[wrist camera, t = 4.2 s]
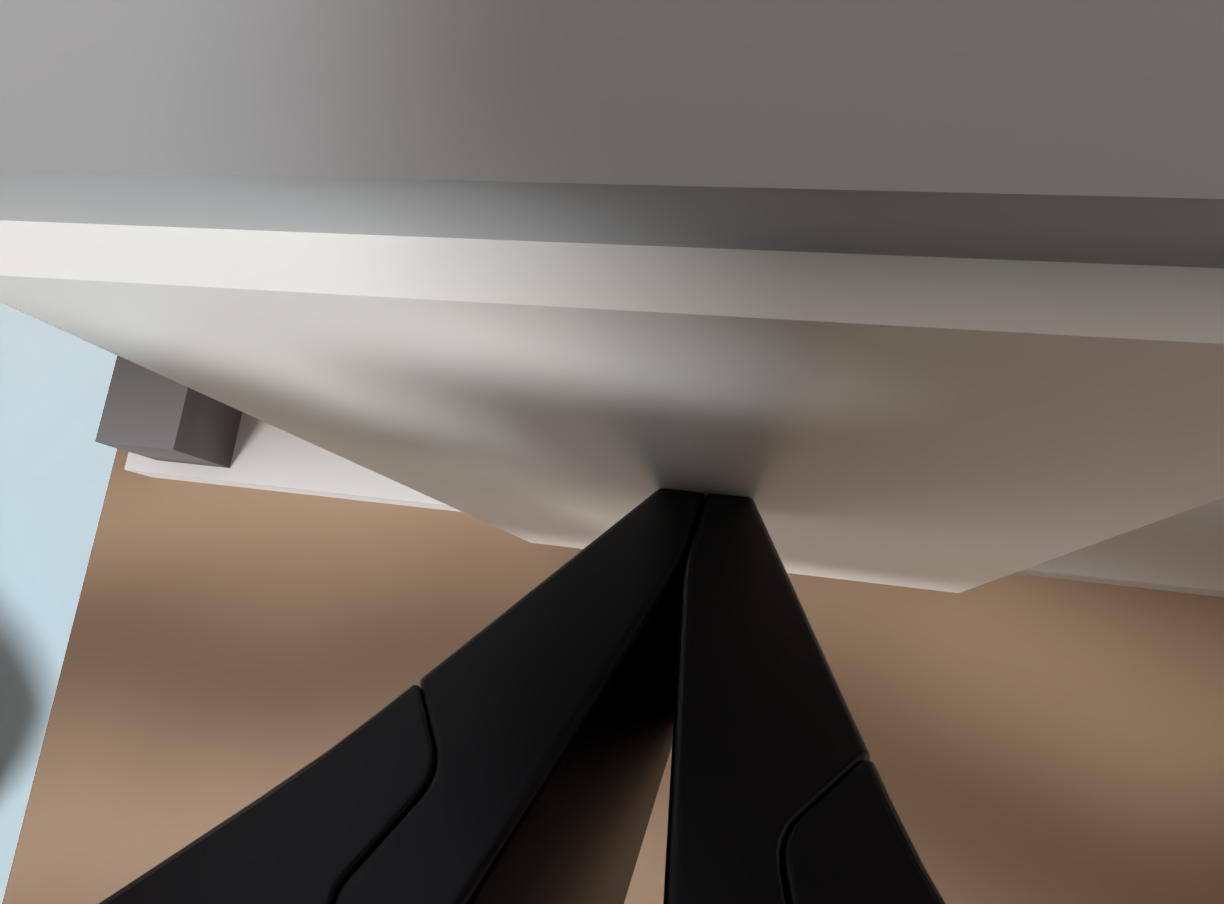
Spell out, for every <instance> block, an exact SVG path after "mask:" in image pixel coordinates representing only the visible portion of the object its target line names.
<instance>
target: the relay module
mask: <svg viewBox="0 0 1224 904" xmlns="http://www.w3.org/2000/svg"><path fill="white" fill-rule="evenodd" d="M0 302H1V303H3V304H5V305H8V306H10V307H12V308H14V309H16V310H19V311H21V312H23V313H25V314H27V315H30V316H32V317H34V318H36V319H38V320H41V321H43V322H45V323H47V324H49V325H52V326H54V327H56V328H58V329H61V330H63V331H65V332H67V333H69V334H72V335H74V336H76V337H78V338H80V339H83V340H85V341H87V342H89V343H91V344H94V345H96V346H98V347H100V348H102V349H105V350H107V351H109V352H111V353H113V354H116V355H118V356H120V357H122V358H124V359H127V360H129V361H131V362H133V363H135V364H138V365H140V366H142V367H144V368H147V369H149V370H151V371H153V372H155V373H158V374H160V375H162V376H164V377H166V378H169V379H171V380H173V381H175V382H177V383H180V384H182V385H184V386H186V387H188V388H191V389H193V390H195V391H197V392H199V393H202V394H204V395H206V396H208V397H210V398H213V399H215V400H217V401H219V402H221V403H224V404H226V405H228V406H230V407H233V408H235V409H237V410H239V411H241V412H244V413H246V414H248V415H250V416H252V417H255V418H257V419H259V420H261V421H263V422H266V423H268V424H270V425H272V426H274V427H277V428H279V429H281V430H283V431H285V432H288V433H290V434H292V435H294V436H296V437H299V438H301V439H303V440H305V441H307V442H310V443H312V444H314V445H316V446H319V447H321V448H323V449H325V450H327V451H330V452H332V453H334V454H336V455H338V456H341V457H343V458H345V459H347V460H349V461H352V462H354V463H356V464H358V465H360V466H363V467H365V468H367V469H369V470H371V471H374V472H376V473H378V474H380V475H382V476H385V477H387V478H389V479H391V480H394V481H396V482H398V483H400V484H402V485H405V486H407V487H409V488H411V489H413V490H416V491H418V492H420V493H422V494H424V495H427V496H429V497H431V498H433V499H435V500H438V501H440V502H442V503H444V504H446V505H449V506H451V507H453V508H455V509H457V510H460V511H462V512H464V513H466V514H468V515H471V516H473V517H475V518H477V519H480V520H482V521H484V522H486V523H488V524H491V525H493V526H495V527H497V528H499V529H502V530H504V531H506V532H508V533H510V534H513V535H515V536H517V537H519V538H521V539H524V540H526V541H528V542H530V543H537V544H545V545H554V546H562V547H571V548H579V549H584V548H585V547H586V546H588V545H589V544H590V543H591V542H593V541H594V540H595V539H596V538H598V537H599V536H600V535H601V534H603V533H604V532H605V531H606V530H608V529H609V528H610V527H611V526H613V525H614V524H615V523H616V522H618V521H619V520H620V519H621V518H623V517H624V516H625V515H626V514H628V513H629V512H630V511H631V510H633V509H634V508H635V507H636V506H638V505H639V504H640V503H641V502H643V501H644V500H645V499H646V498H648V497H649V496H650V495H651V494H653V493H654V492H655V491H656V490H658V489H660V488H665V489H675V490H685V491H695V492H700V493H703V494H704V495H705V497H706V496H707V494H710V493H714V494H724V495H734V496H744V497H750V498H752V499H753V500H754V502H755V504H756V506H757V509H758V511H759V513H760V515H761V517H762V519H763V522H764V524H765V526H766V528H767V530H768V533H769V535H770V537H771V539H772V541H773V544H774V546H775V548H776V550H777V552H778V554H779V557H780V559H781V561H782V563H783V565H784V568H785V570H786V572H787V573H792V574H800V575H809V576H817V577H826V578H834V579H842V580H851V581H859V582H868V583H876V584H885V585H893V586H902V587H910V588H919V589H927V590H936V591H944V592H953V593H960V592H963V591H966V590H969V589H971V588H974V587H977V586H980V585H983V584H985V583H988V582H991V581H994V580H996V579H999V578H1002V577H1005V576H1007V575H1010V574H1013V573H1016V572H1019V571H1021V570H1024V569H1027V568H1030V567H1032V566H1035V565H1038V564H1041V563H1043V562H1046V561H1049V560H1052V559H1055V558H1057V557H1060V556H1063V555H1066V554H1068V553H1071V552H1074V551H1077V550H1079V549H1082V548H1085V547H1088V546H1090V545H1093V544H1096V543H1099V542H1102V541H1104V540H1107V539H1110V538H1113V537H1115V536H1118V535H1121V534H1124V533H1126V532H1129V531H1132V530H1135V529H1138V528H1140V527H1143V526H1146V525H1149V524H1151V523H1154V522H1157V521H1160V520H1162V519H1165V518H1168V517H1171V516H1174V515H1176V514H1179V513H1182V512H1185V511H1187V510H1190V509H1193V508H1196V507H1198V506H1201V505H1204V504H1207V503H1209V502H1212V501H1215V500H1218V499H1221V498H1223V497H1224V0H0Z"/></svg>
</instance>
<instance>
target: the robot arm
mask: <svg viewBox="0 0 1224 904" xmlns="http://www.w3.org/2000/svg"><path fill="white" fill-rule="evenodd" d="M420 687H421V688H420ZM420 687H419V686H418V685H412V686H410V687H409V688H408V689H407V690H405V691H404V692H403V693H402V694H400V695H399V696H398V697H397V698H395V699H394V700H393V701H392V702H390V703H389V704H388V705H387V706H385V707H384V708H383V709H382V710H380V711H379V712H378V713H377V714H375V715H374V716H373V717H371V718H370V719H369V720H367V721H366V722H365V723H363V724H362V725H361V726H359V727H358V728H357V729H355V730H354V731H353V732H351V733H350V734H349V735H347V736H346V737H345V738H344V739H342V740H341V741H340V742H338V743H337V744H336V745H334V746H333V747H332V748H330V749H329V750H328V751H326V752H325V753H324V754H322V755H321V756H319V757H318V758H316V759H315V760H313V761H312V762H310V763H309V764H308V765H306V766H305V767H303V768H302V769H300V770H299V771H297V772H296V773H294V774H293V775H292V776H290V777H289V778H287V779H286V780H284V781H283V782H281V783H280V784H279V785H277V786H276V787H274V788H273V789H271V790H270V791H268V792H267V793H265V794H264V795H263V796H261V797H260V798H258V799H257V800H255V801H254V802H252V803H250V804H249V805H247V806H246V807H244V808H243V809H241V810H240V811H238V812H237V813H235V814H234V815H232V816H231V817H229V818H228V819H226V820H225V821H223V822H222V823H220V824H219V825H217V826H216V827H214V828H212V829H211V830H209V831H208V832H206V833H205V834H203V835H202V836H200V837H199V838H197V839H196V840H194V841H193V842H191V843H190V844H188V845H187V846H185V847H184V848H182V849H181V850H179V851H177V852H176V853H174V854H173V855H171V856H170V857H168V858H167V859H165V860H164V861H162V862H161V863H159V864H158V865H156V866H155V867H153V868H152V869H150V870H149V871H147V872H146V873H144V874H142V875H141V876H139V877H138V878H136V879H135V880H133V881H132V882H130V883H129V884H127V885H126V886H124V887H123V888H121V889H120V890H118V891H117V892H115V893H114V894H112V895H111V896H109V897H107V898H106V899H104V900H103V901H101V902H100V903H98V904H624V902H625V899H626V895H627V892H628V889H629V885H630V882H631V879H632V875H633V872H634V869H635V866H636V862H637V859H638V856H639V852H640V849H641V846H642V843H643V839H644V836H645V833H646V829H647V826H648V823H649V819H650V816H651V813H652V810H653V806H654V803H655V800H656V796H657V793H658V790H659V786H660V783H661V780H662V777H663V773H664V770H665V767H666V763H667V760H668V757H669V754H670V750H671V747H672V756H671V774H670V792H669V809H668V827H667V845H666V863H665V881H664V899H663V904H946V903H945V901H944V900H943V898H942V896H941V895H940V893H939V891H938V889H937V888H936V886H935V884H934V882H933V881H932V879H931V877H930V876H929V874H928V872H927V870H926V869H925V867H924V865H923V863H922V861H921V859H920V857H919V855H918V853H917V851H916V849H915V847H914V845H913V843H912V841H911V839H910V837H909V835H908V833H907V831H906V829H905V827H904V825H903V823H902V821H901V819H900V817H899V815H898V813H897V811H896V809H895V807H894V805H893V803H892V800H891V798H890V796H889V794H888V792H887V789H886V787H885V785H884V783H883V781H882V778H881V776H880V774H879V772H878V770H877V768H876V765H875V764H874V763H873V762H872V761H870V754H869V751H868V749H867V747H866V745H865V743H864V740H863V738H862V736H861V734H860V732H859V729H858V727H857V725H856V723H855V721H854V718H853V716H852V714H851V712H850V710H849V708H848V705H847V703H846V701H845V699H844V697H843V694H842V692H841V690H840V688H839V686H838V683H837V681H836V679H835V677H834V675H833V673H832V670H831V668H830V666H829V664H828V662H827V659H826V657H825V655H824V653H823V651H822V648H821V646H820V644H819V642H818V640H817V638H816V635H815V633H814V631H813V629H812V627H811V624H810V622H809V620H808V618H807V616H806V614H805V611H804V609H803V607H802V605H801V603H800V600H799V598H798V596H797V594H796V592H795V589H794V587H793V585H792V583H791V581H790V579H789V576H788V574H787V572H786V570H785V568H784V565H783V563H782V561H781V559H780V557H779V554H778V552H777V550H776V548H775V546H774V544H773V541H772V539H771V537H770V535H769V533H768V530H767V528H766V526H765V524H764V522H763V519H762V517H761V515H760V513H759V511H758V509H757V506H756V504H755V502H754V500H753V499H752V498H750V497H744V496H734V495H724V494H714V493H710V494H707V496H706V497H705V495H704V494H703V493H700V492H695V491H685V490H675V489H665V488H660V489H658V490H656V491H655V492H654V493H653V494H651V495H650V496H649V497H648V498H646V499H645V500H644V501H643V502H641V503H640V504H639V505H638V506H636V507H635V508H634V509H633V510H631V511H630V512H629V513H628V514H626V515H625V516H624V517H623V518H621V519H620V520H619V521H618V522H616V523H615V524H614V525H613V526H611V527H610V528H609V529H608V530H606V531H605V532H604V533H603V534H601V535H600V536H599V537H598V538H596V539H595V540H594V541H593V542H591V543H590V544H589V545H588V546H586V547H585V548H584V549H583V550H581V551H580V552H579V553H578V554H576V555H575V556H574V557H573V558H571V559H570V560H569V561H568V562H566V563H565V564H564V565H563V566H561V567H560V568H559V569H558V570H556V571H555V572H554V573H553V574H551V575H550V576H549V577H548V578H546V579H545V580H544V581H543V582H541V583H540V584H539V585H538V586H536V587H535V588H534V589H533V590H531V591H530V592H529V593H527V594H526V595H525V596H524V597H522V598H521V599H520V600H519V601H517V602H516V603H515V604H514V605H512V606H511V607H510V608H509V609H507V610H506V611H505V612H504V613H502V614H501V615H500V616H499V617H497V618H496V619H495V620H494V621H492V622H491V623H490V624H489V625H487V626H486V627H485V628H484V629H482V630H481V631H480V632H479V633H477V634H476V635H475V636H474V637H472V638H471V639H470V640H469V641H467V642H466V643H465V644H464V645H462V646H461V647H460V648H459V649H457V650H456V651H455V652H454V653H452V654H451V655H450V656H449V657H447V658H446V659H445V660H444V661H442V662H441V663H440V664H439V665H437V666H436V667H435V668H434V669H432V670H431V671H430V672H429V673H427V674H426V675H425V676H424V677H422V678H421V680H420Z"/></svg>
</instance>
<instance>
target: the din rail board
mask: <svg viewBox="0 0 1224 904" xmlns="http://www.w3.org/2000/svg"><path fill="white" fill-rule="evenodd" d="M95 442H98V443H102V444H105V445H108V446H112V447H115V448H118V449H117V453H116V456H115V460H114V464H113V468H112V472H111V476H110V480H109V484H108V488H107V492H106V496H105V500H104V504H103V508H102V512H101V516H100V520H99V524H98V528H97V532H96V536H95V539H94V543H93V547H92V551H91V555H90V559H89V563H88V567H87V571H86V575H85V579H84V583H83V587H82V591H81V595H80V599H79V603H78V607H77V611H76V615H75V619H74V622H73V626H72V630H71V634H70V638H69V642H68V646H67V650H66V654H65V658H64V662H63V666H62V670H61V674H60V678H59V682H58V686H57V690H56V694H55V698H54V701H53V705H52V709H51V713H50V717H49V721H48V725H47V729H46V733H45V737H44V741H43V745H42V749H41V753H40V757H39V761H38V765H37V769H36V773H35V777H34V781H33V784H32V788H31V792H30V796H29V800H28V804H27V808H26V812H25V816H24V820H23V824H22V828H21V832H20V836H19V840H18V844H17V848H16V852H15V856H14V860H13V864H12V867H11V871H10V875H9V879H8V883H7V887H6V891H5V895H4V899H3V903H2V904H98V903H100V902H101V901H103V900H104V899H106V898H107V897H109V896H111V895H112V894H114V893H115V892H117V891H118V890H120V889H121V888H123V887H124V886H126V885H127V884H129V883H130V882H132V881H133V880H135V879H136V878H138V877H139V876H141V875H142V874H144V873H146V872H147V871H149V870H150V869H152V868H153V867H155V866H156V865H158V864H159V863H161V862H162V861H164V860H165V859H167V858H168V857H170V856H171V855H173V854H174V853H176V852H177V851H179V850H181V849H182V848H184V847H185V846H187V845H188V844H190V843H191V842H193V841H194V840H196V839H197V838H199V837H200V836H202V835H203V834H205V833H206V832H208V831H209V830H211V829H212V828H214V827H216V826H217V825H219V824H220V823H222V822H223V821H225V820H226V819H228V818H229V817H231V816H232V815H234V814H235V813H237V812H238V811H240V810H241V809H243V808H244V807H246V806H247V805H249V804H250V803H252V802H254V801H255V800H257V799H258V798H260V797H261V796H263V795H264V794H265V793H267V792H268V791H270V790H271V789H273V788H274V787H276V786H277V785H279V784H280V783H281V782H283V781H284V780H286V779H287V778H289V777H290V776H292V775H293V774H294V773H296V772H297V771H299V770H300V769H302V768H303V767H305V766H306V765H308V764H309V763H310V762H312V761H313V760H315V759H316V758H318V757H319V756H321V755H322V754H324V753H325V752H326V751H328V750H329V749H330V748H332V747H333V746H334V745H336V744H337V743H338V742H340V741H341V740H342V739H344V738H345V737H346V736H347V735H349V734H350V733H351V732H353V731H354V730H355V729H357V728H358V727H359V726H361V725H362V724H363V723H365V722H366V721H367V720H369V719H370V718H371V717H373V716H374V715H375V714H377V713H378V712H379V711H380V710H382V709H383V708H384V707H385V706H387V705H388V704H389V703H390V702H392V701H393V700H394V699H395V698H397V697H398V696H399V695H400V694H402V693H403V692H404V691H405V690H407V689H408V688H409V687H410V686H412V685H418V686H419V687H420V680H421V678H422V677H424V676H425V675H426V674H427V673H429V672H430V671H431V670H432V669H434V668H435V667H436V666H437V665H439V664H440V663H441V662H442V661H444V660H445V659H446V658H447V657H449V656H450V655H451V654H452V653H454V652H455V651H456V650H457V649H459V648H460V647H461V646H462V645H464V644H465V643H466V642H467V641H469V640H470V639H471V638H472V637H474V636H475V635H476V634H477V633H479V632H480V631H481V630H482V629H484V628H485V627H486V626H487V625H489V624H490V623H491V622H492V621H494V620H495V619H496V618H497V617H499V616H500V615H501V614H502V613H504V612H505V611H506V610H507V609H509V608H510V607H511V606H512V605H514V604H515V603H516V602H517V601H519V600H520V599H521V598H522V597H524V596H525V595H526V594H527V593H529V592H530V591H531V590H533V589H534V588H535V587H536V586H538V585H539V584H540V583H541V582H543V581H544V580H545V579H546V578H548V577H549V576H550V575H551V574H553V573H554V572H555V571H556V570H558V569H559V568H560V567H561V566H563V565H564V564H565V563H566V562H568V561H569V560H570V559H571V558H573V557H574V556H575V555H576V554H578V553H579V552H580V551H581V550H583V549H579V548H571V547H562V546H554V545H545V544H537V543H530V542H528V541H526V540H524V539H521V538H519V537H517V536H515V535H513V534H510V533H508V532H506V531H504V530H502V529H499V528H497V527H495V526H493V525H491V524H488V523H486V522H484V521H482V520H480V519H477V518H475V517H473V516H471V515H468V514H466V513H464V512H462V511H460V510H457V509H455V508H453V507H451V506H449V505H446V504H444V503H442V502H440V501H438V500H435V499H433V498H431V497H429V496H427V495H424V494H422V493H420V492H418V491H416V490H413V489H411V488H409V487H407V486H405V485H402V484H400V483H398V482H396V481H394V480H391V479H389V478H387V477H385V476H382V475H380V474H378V473H376V472H374V471H371V470H369V469H367V468H365V467H363V466H360V465H358V464H356V463H354V462H352V461H349V460H347V459H345V458H343V457H341V456H338V455H336V454H334V453H332V452H330V451H327V450H325V449H323V448H321V447H319V446H316V445H314V444H312V443H310V442H307V441H305V440H303V439H301V438H299V437H296V436H294V435H292V434H290V433H288V432H285V431H283V430H281V429H279V428H277V427H274V426H272V425H270V424H268V423H266V422H263V421H261V420H259V419H257V418H255V417H252V416H250V415H248V414H246V413H244V412H241V411H239V410H237V409H235V408H233V407H230V406H228V405H226V404H224V403H221V402H219V401H217V400H215V399H213V398H210V397H208V396H206V395H204V394H202V393H199V392H197V391H195V390H193V389H191V388H188V387H186V386H184V385H182V384H180V383H177V382H175V381H173V380H171V379H169V378H166V377H164V376H162V375H160V374H158V373H155V372H153V371H151V370H149V369H147V368H144V367H142V366H140V365H138V364H135V363H133V362H131V361H129V360H127V359H124V358H122V357H120V356H117V360H116V364H115V367H114V371H113V375H112V379H111V383H110V387H109V391H108V394H107V398H106V402H105V406H104V410H103V414H102V418H101V422H100V425H99V429H98V433H97V437H96V441H95ZM787 574H788V576H789V579H790V581H791V583H792V585H793V587H794V589H795V592H796V594H797V596H798V598H799V600H800V603H801V605H802V607H803V609H804V611H805V614H806V616H807V618H808V620H809V622H810V624H811V627H812V629H813V631H814V633H815V635H816V638H817V640H818V642H819V644H820V646H821V648H822V651H823V653H824V655H825V657H826V659H827V662H828V664H829V666H830V668H831V670H832V673H833V675H834V677H835V679H836V681H837V683H838V686H839V688H840V690H841V692H842V694H843V697H844V699H845V701H846V703H847V705H848V708H849V710H850V712H851V714H852V716H853V718H854V721H855V723H856V725H857V727H858V729H859V732H860V734H861V736H862V738H863V740H864V743H865V745H866V747H867V749H868V751H869V754H870V761H872V762H873V763H874V764H875V765H876V768H877V770H878V772H879V774H880V776H881V778H882V781H883V783H884V785H885V787H886V789H887V792H888V794H889V796H890V798H891V800H892V803H893V805H894V807H895V809H896V811H897V813H898V815H899V817H900V819H901V821H902V823H903V825H904V827H905V829H906V831H907V833H908V835H909V837H910V839H911V841H912V843H913V845H914V847H915V849H916V851H917V853H918V855H919V857H920V859H921V861H922V863H923V865H924V867H925V869H926V870H927V872H928V874H929V876H930V877H931V879H932V881H933V882H934V884H935V886H936V888H937V889H938V891H939V893H940V895H941V896H942V898H943V900H944V901H945V903H946V904H1224V497H1223V498H1221V499H1218V500H1215V501H1212V502H1209V503H1207V504H1204V505H1201V506H1198V507H1196V508H1193V509H1190V510H1187V511H1185V512H1182V513H1179V514H1176V515H1174V516H1171V517H1168V518H1165V519H1162V520H1160V521H1157V522H1154V523H1151V524H1149V525H1146V526H1143V527H1140V528H1138V529H1135V530H1132V531H1129V532H1126V533H1124V534H1121V535H1118V536H1115V537H1113V538H1110V539H1107V540H1104V541H1102V542H1099V543H1096V544H1093V545H1090V546H1088V547H1085V548H1082V549H1079V550H1077V551H1074V552H1071V553H1068V554H1066V555H1063V556H1060V557H1057V558H1055V559H1052V560H1049V561H1046V562H1043V563H1041V564H1038V565H1035V566H1032V567H1030V568H1027V569H1024V570H1021V571H1019V572H1016V573H1013V574H1010V575H1007V576H1005V577H1002V578H999V579H996V580H994V581H991V582H988V583H985V584H983V585H980V586H977V587H974V588H971V589H969V590H966V591H963V592H960V593H953V592H944V591H936V590H927V589H919V588H910V587H902V586H893V585H885V584H876V583H868V582H859V581H851V580H842V579H834V578H826V577H817V576H809V575H800V574H792V573H787ZM420 688H421V687H420ZM671 756H672V747H671V750H670V754H669V757H668V760H667V763H666V767H665V770H664V773H663V777H662V780H661V783H660V786H659V790H658V793H657V796H656V800H655V803H654V806H653V810H652V813H651V816H650V819H649V823H648V826H647V829H646V833H645V836H644V839H643V843H642V846H641V849H640V852H639V856H638V859H637V862H636V866H635V869H634V872H633V875H632V879H631V882H630V885H629V889H628V892H627V895H626V899H625V902H624V904H663V899H664V881H665V863H666V845H667V827H668V809H669V792H670V774H671Z"/></svg>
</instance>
